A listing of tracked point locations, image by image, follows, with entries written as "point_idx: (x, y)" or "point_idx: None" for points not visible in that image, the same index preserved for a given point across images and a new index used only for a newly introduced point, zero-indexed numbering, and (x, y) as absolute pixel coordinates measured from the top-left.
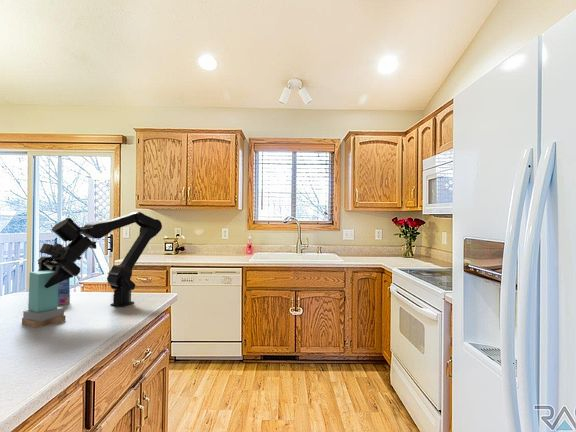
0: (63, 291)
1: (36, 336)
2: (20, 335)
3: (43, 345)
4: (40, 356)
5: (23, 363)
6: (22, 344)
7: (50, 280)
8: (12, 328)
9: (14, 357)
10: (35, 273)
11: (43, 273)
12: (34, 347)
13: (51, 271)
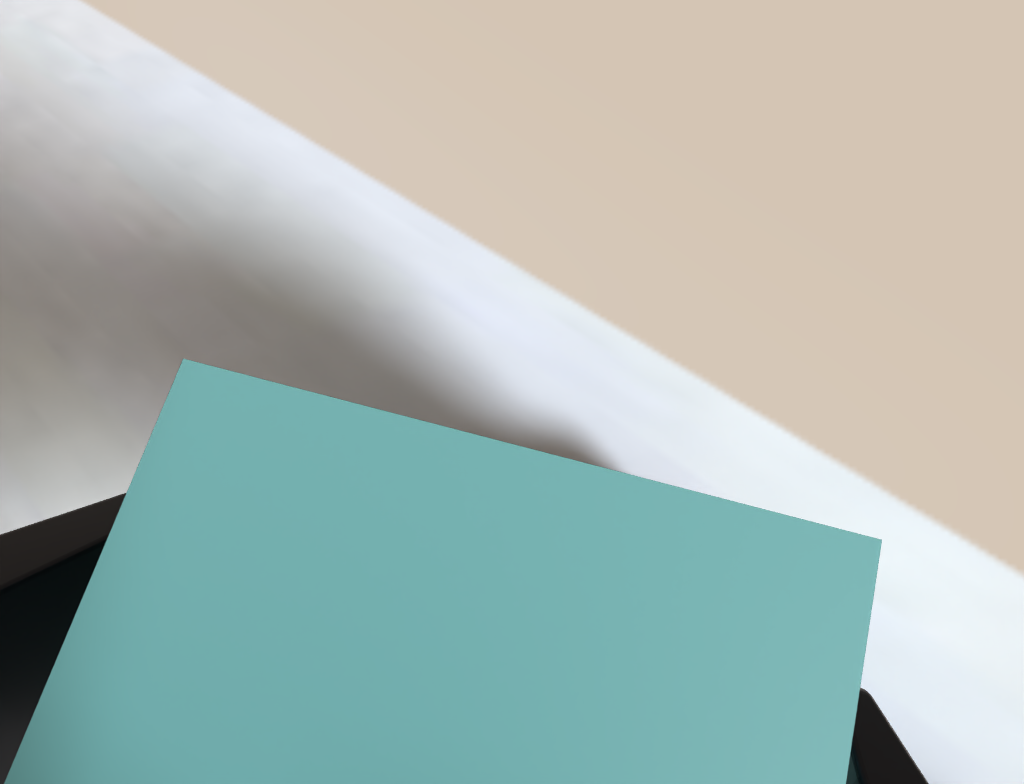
0: None
1: (276, 327)
2: (405, 305)
3: (104, 231)
4: (10, 126)
5: (31, 52)
6: (240, 200)
7: (27, 528)
8: (634, 400)
9: (127, 75)
10: (390, 415)
11: (139, 528)
12: (132, 193)
13: None
